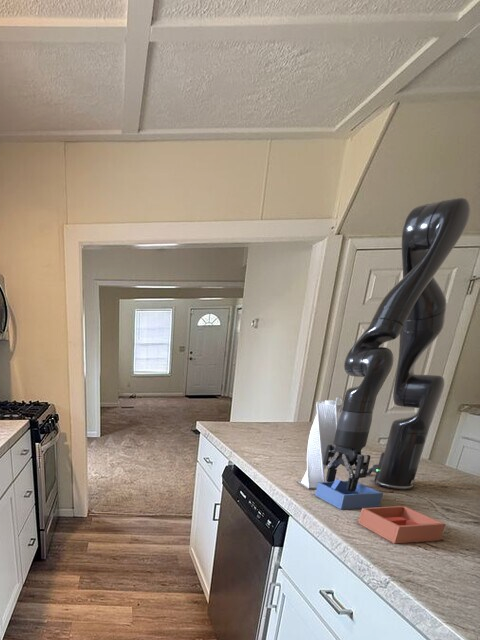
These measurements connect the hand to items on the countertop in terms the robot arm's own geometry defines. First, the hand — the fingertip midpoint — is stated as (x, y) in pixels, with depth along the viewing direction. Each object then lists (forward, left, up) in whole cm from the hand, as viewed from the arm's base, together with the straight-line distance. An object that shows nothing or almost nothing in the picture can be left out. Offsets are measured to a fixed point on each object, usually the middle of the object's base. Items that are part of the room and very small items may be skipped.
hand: (339, 486), depth 113 cm
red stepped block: (+21, 0, -4) cm, 21 cm away
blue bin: (0, +3, -5) cm, 6 cm away
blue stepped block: (0, +2, -2) cm, 3 cm away
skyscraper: (-14, +2, -5) cm, 14 cm away
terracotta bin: (+20, +1, -5) cm, 21 cm away
